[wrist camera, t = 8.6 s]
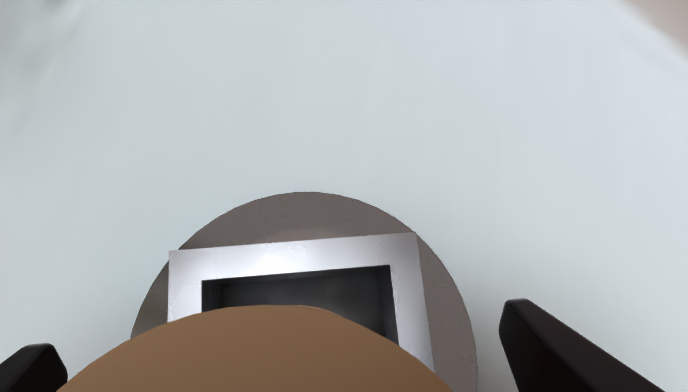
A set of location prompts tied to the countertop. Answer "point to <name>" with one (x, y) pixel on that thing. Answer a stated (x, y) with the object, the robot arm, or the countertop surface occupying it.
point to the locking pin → (258, 356)
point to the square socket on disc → (322, 276)
